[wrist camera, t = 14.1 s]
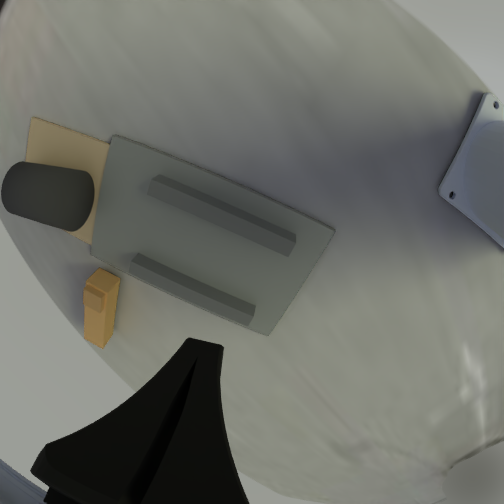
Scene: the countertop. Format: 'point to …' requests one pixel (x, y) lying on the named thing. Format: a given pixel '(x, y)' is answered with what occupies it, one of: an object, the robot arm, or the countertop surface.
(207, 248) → the board
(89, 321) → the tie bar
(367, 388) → the countertop surface
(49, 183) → the dark grey cylinder
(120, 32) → the countertop surface
